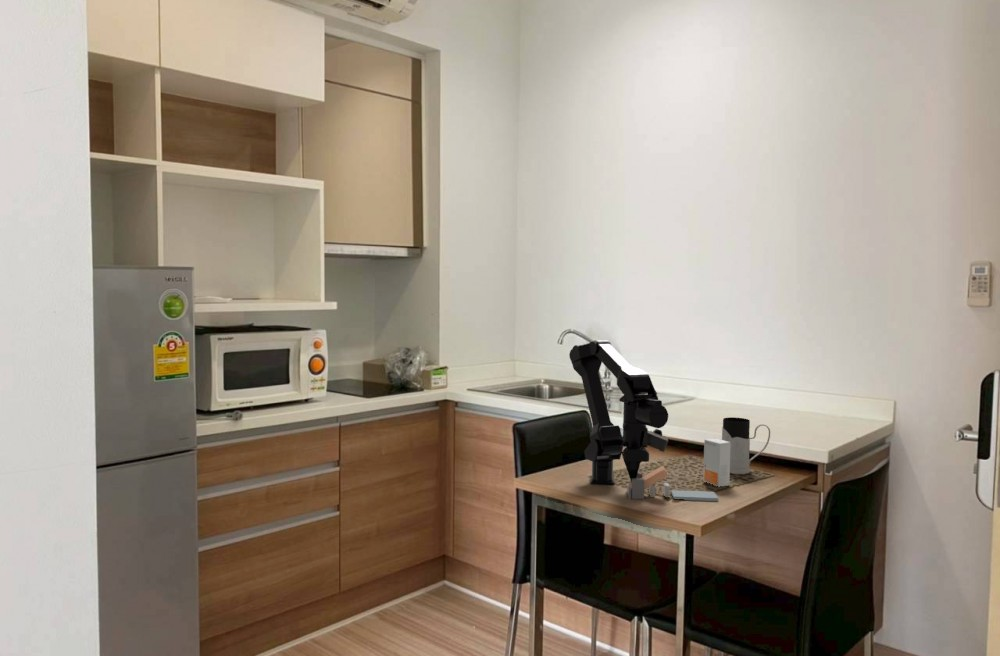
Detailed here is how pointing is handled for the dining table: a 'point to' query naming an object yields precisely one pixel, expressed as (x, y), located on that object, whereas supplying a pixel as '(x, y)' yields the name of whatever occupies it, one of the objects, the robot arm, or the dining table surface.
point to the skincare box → (716, 462)
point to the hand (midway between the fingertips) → (633, 481)
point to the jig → (639, 488)
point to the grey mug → (739, 443)
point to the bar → (654, 477)
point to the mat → (694, 495)
